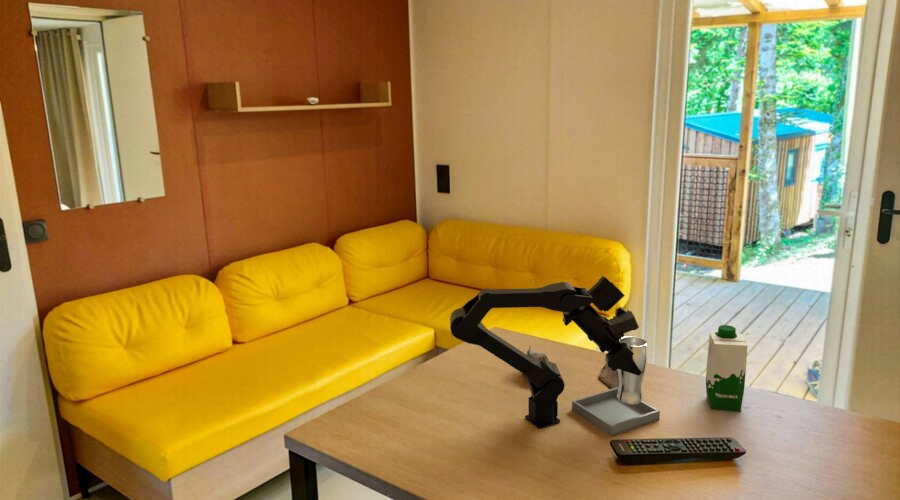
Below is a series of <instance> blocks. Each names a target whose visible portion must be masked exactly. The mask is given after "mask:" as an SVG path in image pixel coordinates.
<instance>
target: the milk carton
mask: <svg viewBox="0 0 900 500" xmlns="http://www.w3.org/2000/svg"><path fill="white" fill-rule="evenodd" d="M736 331H737V330H736V327H734V326H732V325H728V324H727V325H726V324H723V325H722V324H721V325H719V326H718V329H717V331H716V332H712V331H711V332H709V336H708V337H709V338H708V349H707V359H706V373H705V375H706V376H705V388H706V391H705V392H706V399H707V401H708V405H709V407H710V410H711V411H722V412H735V413H741V411H742V405H743V400H744V392H745V383H746V373H747V361H748V360H747V358H748V344H747V341H746V339H745V338H744V336H743V335H742V333H736Z"/></svg>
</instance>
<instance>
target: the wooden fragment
mask: <svg viewBox="0 0 900 500" xmlns="http://www.w3.org/2000/svg"><path fill="white" fill-rule="evenodd" d="M598 379H600V380H601V381H602V382H603V383H604V384H605V385H607V386H608V388H610V389H613V388H617V387H618V388H619V375H618V369H617V370H616V371H613V370H612V369H611V368H610V367H609V366H608V365H607V363H606V362H605V364H604V365H603V367H602V368H601V371H600V373H599V374H598Z"/></svg>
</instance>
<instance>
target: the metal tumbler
mask: <svg viewBox="0 0 900 500" xmlns="http://www.w3.org/2000/svg"><path fill="white" fill-rule="evenodd" d="M619 341H620V343H626V344H627V345H628V346H629V347H631V349H632V351H633V353H634V354H633V356H632V359H633V360H634V362H635V363H636V365H637V366H638V368H639V369H640V371H641V372H642V373H641V374H640V375H639V376H638V375H635V374H632V373H629V372H626V371H623V370H620V369H618V375H619V388H618V392H617V399H618V400H619V401H620V402H622V403H625V404H639V403H641V402H642V401H643V389H642V386H643V381H644V377H645V373H646V368H647V364H648V341H647V340H646V339H644V338H641V337H639V336H631V335H630V336H624V337H622V338H621V339H620V340H619Z"/></svg>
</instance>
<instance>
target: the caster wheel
mask: <svg viewBox="0 0 900 500" xmlns="http://www.w3.org/2000/svg"><path fill="white" fill-rule="evenodd" d="M525 354H526V355H528V356H529V357H531V358H532V359H535V360H540V361H541V359H542V357H543V356H544V357H545V358H546V359H547V360H548V361H549V358H548V356H547V355H546V354H545V353H542V352H540V351H535V350H532V349H531V345H530V346H529V347H528V350H527V352H526V353H525ZM521 375H522V377H524V376H526V375H524V374H523V373H522V374H521ZM526 378H527V380H528V382H530V381H531V380H530V379H529V378H528V377H527V376H526Z"/></svg>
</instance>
